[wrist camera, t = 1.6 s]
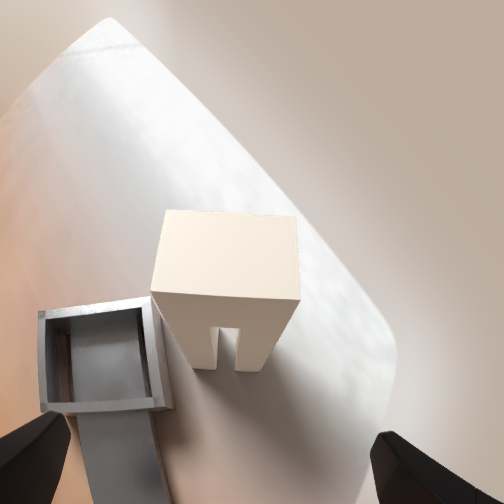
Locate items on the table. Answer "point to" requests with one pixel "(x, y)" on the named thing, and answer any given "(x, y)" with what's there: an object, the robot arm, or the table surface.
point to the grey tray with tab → (110, 393)
